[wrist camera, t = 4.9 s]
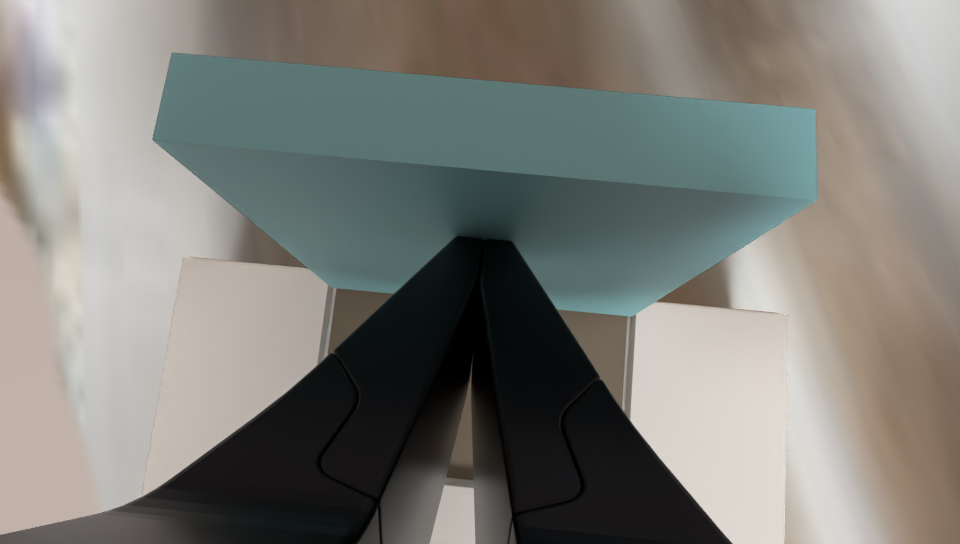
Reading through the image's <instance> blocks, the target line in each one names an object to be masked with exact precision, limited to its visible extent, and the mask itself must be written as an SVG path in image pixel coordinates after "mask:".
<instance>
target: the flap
mask: <svg viewBox="0 0 960 544" xmlns="http://www.w3.org/2000/svg"><path fill="white" fill-rule="evenodd" d="M152 140H153V141H154V142H156V143H157V144H158V145H159V146H161V147H162V148H163V149H164V150H165V151H167V152H168V153H169V154H170V155H171V156H173V157H174V158H175V159H176V160H177V161H179V162H180V163H181V164H182V165H184V166H185V167H186V168H187V169H188V170H190V171H191V172H192V173H193V174H194V175H196V176H197V177H198V178H199V179H200V180H202V181H203V182H204V183H205V184H207V185H208V186H209V187H210V188H211V189H213V190H214V191H215V192H216V193H217V194H219V195H220V196H221V197H222V198H224V199H225V200H226V201H227V202H228V203H230V204H231V205H232V206H233V207H234V208H236V209H237V210H238V211H239V212H240V213H242V214H243V215H244V216H245V217H247V218H248V219H249V220H250V221H251V222H253V223H254V224H255V225H256V226H257V227H259V228H260V229H261V230H262V231H263V232H265V233H266V234H267V235H268V236H270V237H271V238H272V239H273V240H274V241H276V242H277V243H278V244H279V245H280V246H282V247H283V248H284V249H285V250H287V251H288V252H289V253H290V254H291V255H293V256H294V257H295V258H296V259H297V260H299V261H300V262H301V263H302V264H303V265H305V266H306V267H307V268H308V269H310V270H311V271H312V272H313V273H314V274H316V275H317V276H318V277H319V278H320V279H322V280H323V281H324V282H325V283H326V284H328V285H329V286H330V287H331V288H339V289H349V290H360V291H370V292H380V293H391V294H394V293H395V292H396V291H397V290H398V289H400V288H401V287H402V286H403V285H404V284H405V283H406V282H407V281H408V280H409V279H410V278H411V277H412V276H414V275H415V274H416V273H417V272H418V271H419V270H420V269H421V268H422V267H423V266H424V265H425V264H426V263H427V262H429V261H430V260H431V259H432V258H433V257H434V256H435V255H436V254H437V253H438V252H439V251H440V250H441V249H442V248H444V247H445V246H446V245H447V244H448V243H449V242H450V241H451V240H452V239H453V238H454V237H456V236H464V237H474V238H481V239H482V240H483V241H484V242H485V240H487V239H495V240H506V241H512V242H513V243H514V244H515V246H516V247H517V249H518V250H519V252H520V254H521V255H522V257H523V258H524V260H525V261H526V263H527V264H528V266H529V267H530V269H531V270H532V272H533V274H534V275H535V277H536V278H537V280H538V281H539V283H540V284H541V286H542V287H543V289H544V290H545V292H546V294H547V295H548V297H549V298H550V300H551V301H552V303H553V304H554V306H555V307H556V309H558V310H568V311H579V312H589V313H599V314H610V315H620V316H631V317H632V316H634V315H635V314H637V313H638V312H640V311H642V310H643V309H645V308H646V307H648V306H650V305H651V304H653V303H654V302H656V301H658V300H659V299H661V298H662V297H664V296H666V295H667V294H669V293H670V292H672V291H674V290H675V289H677V288H678V287H680V286H682V285H683V284H685V283H686V282H688V281H690V280H691V279H693V278H694V277H696V276H697V275H699V274H701V273H702V272H704V271H705V270H707V269H709V268H710V267H712V266H713V265H715V264H717V263H718V262H720V261H721V260H723V259H725V258H726V257H728V256H729V255H731V254H733V253H734V252H736V251H737V250H739V249H741V248H742V247H744V246H745V245H747V244H749V243H750V242H752V241H753V240H755V239H757V238H758V237H760V236H761V235H763V234H764V233H766V232H768V231H769V230H771V229H772V228H774V227H776V226H777V225H779V224H780V223H782V222H784V221H785V220H787V219H788V218H790V217H792V216H793V215H795V214H796V213H798V212H800V211H801V210H803V209H804V208H806V207H808V206H809V205H811V204H812V203H814V202H816V201H817V157H816V109H807V108H796V107H784V106H773V105H762V104H750V103H739V102H728V101H716V100H705V99H693V98H682V97H671V96H659V95H648V94H637V93H625V92H614V91H602V90H591V89H580V88H568V87H557V86H546V85H534V84H523V83H511V82H500V81H489V80H477V79H466V78H455V77H443V76H432V75H420V74H409V73H398V72H386V71H375V70H364V69H352V68H341V67H329V66H318V65H307V64H295V63H284V62H273V61H261V60H250V59H238V58H227V57H216V56H204V55H193V54H181V53H172V55H171V59H170V63H169V68H168V72H167V77H166V81H165V86H164V90H163V95H162V99H161V104H160V108H159V113H158V117H157V121H156V126H155V130H154V135H153V139H152Z"/></svg>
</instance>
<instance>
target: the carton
mask: <svg viewBox="0 0 960 544" xmlns="http://www.w3.org/2000/svg"><path fill="white" fill-rule="evenodd" d="M392 295H393V294H391V293H380V292H370V291H360V290H349V289H339V288H331V287H330V286H329V285H328V284H326V283H325V282H324V281H323V280H322V279H320V278H319V277H318V276H317V275H316V274H314V273H313V272H312V271H311V270H310V269H308V268H301V267H291V266H280V265H270V264H259V263H249V262H238V261H228V260H217V259H207V258H196V257H189V258H183V261H182V267H181V272H180V278H179V284H178V290H177V295H176V301H175V307H174V312H173V318H172V324H171V330H170V335H169V341H168V347H167V353H166V358H165V364H164V370H163V375H162V381H161V387H160V393H159V398H158V404H157V410H156V415H155V421H154V427H153V433H152V438H151V444H150V450H149V456H148V461H147V467H146V473H145V478H144V484H143V490H142V496H144V495H145V494H147V493H149V492H151V491H152V490H154V489H156V488H157V487H159V486H160V485H162V484H163V483H165V482H166V481H168V480H169V479H171V478H172V477H173V476H175V475H176V474H178V473H179V472H180V471H182V470H183V469H184V468H186V467H187V466H188V465H190V464H191V463H192V462H194V461H195V460H197V459H198V458H199V457H201V456H202V455H203V454H205V453H206V452H207V451H209V450H210V449H211V448H213V447H214V446H216V445H217V444H218V443H220V442H221V441H222V440H224V439H225V438H226V437H228V436H229V435H230V434H232V433H233V432H235V431H236V430H237V429H239V428H240V427H241V426H243V425H244V424H245V423H247V422H248V421H249V420H251V419H252V418H254V417H255V416H256V415H257V414H259V413H260V412H261V411H263V410H264V409H265V408H266V407H268V406H269V405H270V404H272V403H273V402H274V401H275V400H277V399H278V398H279V397H281V396H282V395H283V394H284V393H286V392H287V391H288V390H289V389H290V388H292V387H293V386H294V385H295V384H296V383H297V382H298V381H300V380H301V379H302V378H303V377H304V376H305V375H307V374H308V373H309V372H310V371H311V370H312V369H313V368H314V367H316V366H317V365H318V364H319V363H320V362H321V361H322V360H323V359H324V358H325V357H326V356H327V355H328V354H330V353H333V350H334V349H335V348H336V347H337V346H338V345H339V344H341V343H342V342H343V341H344V340H345V339H346V338H347V337H348V336H349V335H350V334H351V333H352V332H353V331H355V330H356V329H357V328H358V327H359V326H360V325H361V324H362V323H363V322H364V321H365V320H366V319H367V318H368V317H370V316H371V315H372V314H373V313H374V312H375V311H376V310H377V309H378V308H379V307H380V306H381V305H382V304H383V303H385V302H386V301H387V300H388V299H389V298H390V297H391V296H392ZM557 310H558V309H557ZM558 312H559V313H560V315H561V317H562V318H563V320H564V321H565V323H566V324H567V326H568V327H569V329H570V330H571V332H572V333H573V335H574V337H575V338H576V340H577V341H578V343H579V344H580V346H581V347H582V349H583V350H584V352H585V353H586V355H587V357H588V358H589V360H590V361H591V363H592V364H593V366H594V367H595V369H596V370H597V372H598V373H599V375H600V377H601V380H603V381H604V382H605V384H606V385H607V387H608V388H609V390H610V392H611V393H612V395H613V396H614V398H615V399H616V401H617V402H618V404H619V405H620V406H621V408H622V409H623V411H624V412H625V414H626V415H627V416H628V418H629V419H630V421H631V422H632V424H633V425H634V426H635V428H636V429H637V430H638V431H639V433H640V434H641V435H642V436H643V438H644V439H645V440H646V441H647V443H648V444H649V445H650V446H651V448H652V449H653V450H654V451H655V453H656V454H657V455H658V456H659V458H660V459H661V460H662V461H663V462H664V464H665V465H666V466H667V467H668V468H669V470H670V471H671V472H672V473H673V474H674V475H675V477H676V478H677V479H678V480H679V481H680V483H681V484H682V485H683V486H684V487H685V488H686V490H687V491H688V492H689V493H690V494H691V496H692V497H693V498H694V499H695V500H696V501H697V503H698V504H699V505H700V506H701V507H702V509H703V510H704V511H705V512H706V513H707V514H708V516H709V517H710V518H711V519H712V520H713V522H714V523H715V524H716V525H717V526H718V527H719V529H720V530H721V531H722V532H723V533H724V535H725V536H726V537H727V538H728V539H729V540H730V541H731V542H732V543H733V544H784V529H785V478H786V427H787V376H788V325H789V315H783V313H774V312H763V311H753V310H742V309H732V308H721V307H711V306H700V305H690V304H679V303H669V302H658V301H656V302H654V303H653V304H651V305H650V306H648V307H646V308H645V309H643V310H642V311H640V312H638V313H637V314H635V315H634V316H632V317H631V316H620V315H610V314H599V313H589V312H579V311H568V310H558ZM472 361H473V360H472ZM471 375H472V369H471ZM471 375H470V382H469V387H468V391H467V396H466V400H465V404H464V408H463V412H462V416H461V420H460V424H459V428H458V432H457V436H456V440H455V444H454V448H453V452H452V456H451V460H450V464H449V468H448V472H447V476H446V480H445V484H444V488H443V492H442V496H441V500H440V504H439V508H438V512H437V516H436V520H435V524H434V528H433V532H432V536H431V540H430V544H475V514H474V481H473V447H472V414H471ZM142 496H141V497H142Z"/></svg>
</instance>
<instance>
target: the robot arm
mask: <svg viewBox="0 0 960 544" xmlns="http://www.w3.org/2000/svg"><path fill="white" fill-rule="evenodd" d="M472 360H473V361H472ZM471 369H472V375H471ZM470 375H471V414H472V447H473V481H474V514H475V544H733V543H732V542H731V541H730V540H729V539H728V538H727V537H726V536H725V535H724V533H723V532H722V531H721V530H720V529H719V527H718V526H717V525H716V524H715V523H714V522H713V520H712V519H711V518H710V517H709V516H708V514H707V513H706V512H705V511H704V510H703V509H702V507H701V506H700V505H699V504H698V503H697V501H696V500H695V499H694V498H693V497H692V496H691V494H690V493H689V492H688V491H687V490H686V488H685V487H684V486H683V485H682V484H681V483H680V481H679V480H678V479H677V478H676V477H675V475H674V474H673V473H672V472H671V471H670V470H669V468H668V467H667V466H666V465H665V464H664V462H663V461H662V460H661V459H660V458H659V456H658V455H657V454H656V453H655V451H654V450H653V449H652V448H651V446H650V445H649V444H648V443H647V441H646V440H645V439H644V438H643V436H642V435H641V434H640V433H639V431H638V430H637V429H636V428H635V426H634V425H633V424H632V422H631V421H630V419H629V418H628V416H627V415H626V414H625V412H624V411H623V409H622V408H621V406H620V405H619V404H618V402H617V401H616V399H615V398H614V396H613V395H612V393H611V392H610V390H609V388H608V387H607V385H606V384H605V382H604V381H603V380H601V377H600V375H599V373H598V372H597V370H596V369H595V367H594V366H593V364H592V363H591V361H590V360H589V358H588V357H587V355H586V353H585V352H584V350H583V349H582V347H581V346H580V344H579V343H578V341H577V340H576V338H575V337H574V335H573V333H572V332H571V330H570V329H569V327H568V326H567V324H566V323H565V321H564V320H563V318H562V317H561V315H560V313H559V312H558V310H557V309H556V307H555V306H554V304H553V303H552V301H551V300H550V298H549V297H548V295H547V294H546V292H545V290H544V289H543V287H542V286H541V284H540V283H539V281H538V280H537V278H536V277H535V275H534V274H533V272H532V270H531V269H530V267H529V266H528V264H527V263H526V261H525V260H524V258H523V257H522V255H521V254H520V252H519V250H518V249H517V247H516V246H515V244H514V243H513V242H512V241H506V240H495V239H487V240H485V242H484V241H483V240H482V239H481V238H474V237H464V236H456V237H454V238H453V239H452V240H451V241H450V242H449V243H448V244H447V245H446V246H445V247H444V248H442V249H441V250H440V251H439V252H438V253H437V254H436V255H435V256H434V257H433V258H432V259H431V260H430V261H429V262H427V263H426V264H425V265H424V266H423V267H422V268H421V269H420V270H419V271H418V272H417V273H416V274H415V275H414V276H412V277H411V278H410V279H409V280H408V281H407V282H406V283H405V284H404V285H403V286H402V287H401V288H400V289H398V290H397V291H396V292H395V293H394V294H393V295H392V296H391V297H390V298H389V299H388V300H387V301H386V302H385V303H383V304H382V305H381V306H380V307H379V308H378V309H377V310H376V311H375V312H374V313H373V314H372V315H371V316H370V317H368V318H367V319H366V320H365V321H364V322H363V323H362V324H361V325H360V326H359V327H358V328H357V329H356V330H355V331H353V332H352V333H351V334H350V335H349V336H348V337H347V338H346V339H345V340H344V341H343V342H342V343H341V344H339V345H338V346H337V347H336V348H335V349H334V350H333V353H330V354H328V355H327V356H326V357H325V358H324V359H323V360H322V361H321V362H320V363H319V364H318V365H317V366H316V367H314V368H313V369H312V370H311V371H310V372H309V373H308V374H307V375H305V376H304V377H303V378H302V379H301V380H300V381H298V382H297V383H296V384H295V385H294V386H293V387H292V388H290V389H289V390H288V391H287V392H286V393H284V394H283V395H282V396H281V397H279V398H278V399H277V400H275V401H274V402H273V403H272V404H270V405H269V406H268V407H266V408H265V409H264V410H263V411H261V412H260V413H259V414H257V415H256V416H255V417H254V418H252V419H251V420H249V421H248V422H247V423H245V424H244V425H243V426H241V427H240V428H239V429H237V430H236V431H235V432H233V433H232V434H230V435H229V436H228V437H226V438H225V439H224V440H222V441H221V442H220V443H218V444H217V445H216V446H214V447H213V448H211V449H210V450H209V451H207V452H206V453H205V454H203V455H202V456H201V457H199V458H198V459H197V460H195V461H194V462H192V463H191V464H190V465H188V466H187V467H186V468H184V469H183V470H182V471H180V472H179V473H178V474H176V475H175V476H173V477H172V478H171V479H169V480H168V481H166V482H165V483H163V484H162V485H160V486H159V487H157V488H156V489H154V490H152V491H151V492H149V493H147V494H145V495H144V496H142V497H140V498H138V499H136V500H134V501H132V502H130V503H128V504H126V505H123V506H121V507H118V508H115V509H112V510H109V511H106V512H102V513H98V514H94V515H90V516H86V517H81V518H76V519H72V520H67V521H62V522H58V523H53V524H49V525H45V526H40V527H35V528H31V529H26V530H21V531H17V532H12V533H8V534H3V535H0V544H430V540H431V536H432V532H433V528H434V524H435V520H436V516H437V512H438V508H439V504H440V500H441V496H442V492H443V488H444V484H445V480H446V476H447V472H448V468H449V464H450V460H451V456H452V452H453V448H454V444H455V440H456V436H457V432H458V428H459V424H460V420H461V416H462V412H463V408H464V404H465V400H466V396H467V391H468V387H469V382H470Z"/></svg>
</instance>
